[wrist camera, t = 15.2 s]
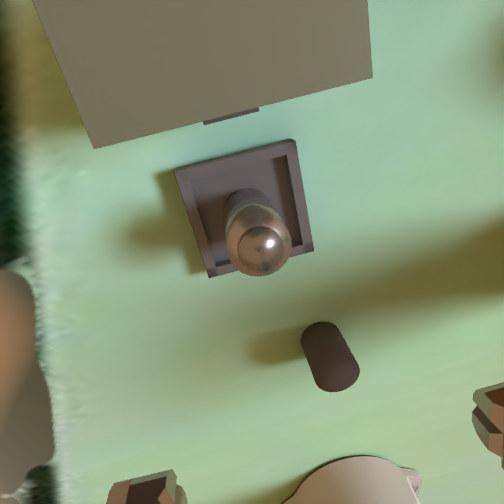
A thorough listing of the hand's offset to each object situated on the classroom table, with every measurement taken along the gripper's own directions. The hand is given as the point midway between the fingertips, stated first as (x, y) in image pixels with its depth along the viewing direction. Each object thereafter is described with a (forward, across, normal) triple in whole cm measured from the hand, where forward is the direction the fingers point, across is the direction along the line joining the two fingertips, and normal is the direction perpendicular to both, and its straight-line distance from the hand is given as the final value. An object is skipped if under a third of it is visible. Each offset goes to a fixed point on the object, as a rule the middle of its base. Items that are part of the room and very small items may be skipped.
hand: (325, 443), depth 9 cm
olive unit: (+21, 0, -12) cm, 24 cm away
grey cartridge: (+20, 0, 0) cm, 20 cm away
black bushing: (+21, -4, +15) cm, 26 cm away
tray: (+21, 0, 0) cm, 21 cm away
